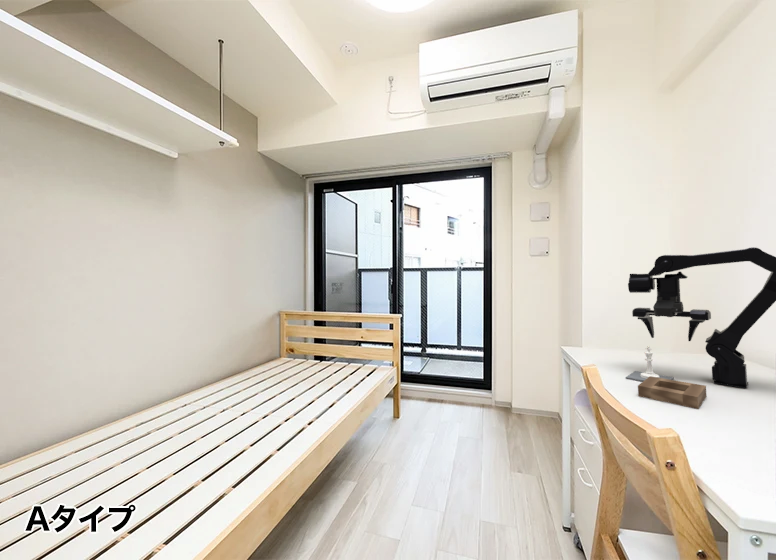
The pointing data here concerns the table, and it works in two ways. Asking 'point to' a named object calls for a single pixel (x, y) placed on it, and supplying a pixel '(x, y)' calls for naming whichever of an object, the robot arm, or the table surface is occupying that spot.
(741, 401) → the table surface
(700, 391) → the socket block
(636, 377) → the slate mat
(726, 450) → the table surface
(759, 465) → the table surface
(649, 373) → the chess piece
